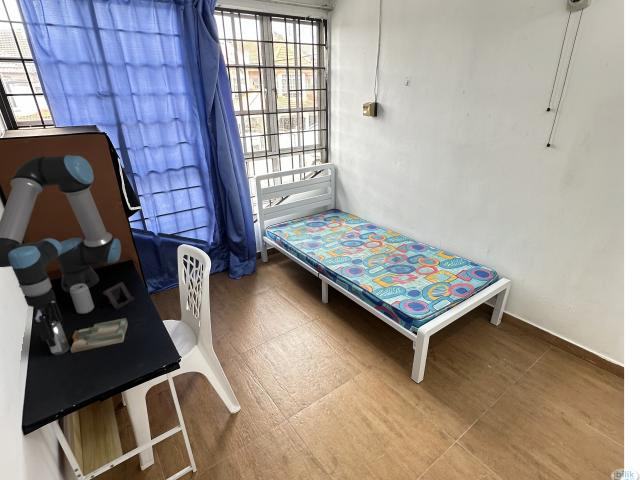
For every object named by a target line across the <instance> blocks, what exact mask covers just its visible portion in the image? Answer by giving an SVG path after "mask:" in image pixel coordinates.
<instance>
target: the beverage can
mask: <svg viewBox="0 0 640 480" xmlns="http://www.w3.org/2000/svg"><path fill="white" fill-rule="evenodd" d="M69 293H70V296H71V299H72V302H73V305H74V309H75V311H76V312H77V314H80V315H81V314H83V315H84V314H88V313H90V312H92V311H93V309H95V304H94V302H93V298H92V295H91V292H90V288H88V286H86V284H84V283H81V284H76V285H74V286H72V287H71V288H70V292H69Z"/></svg>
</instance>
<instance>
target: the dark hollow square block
mask: <svg viewBox="0 0 640 480" xmlns="http://www.w3.org/2000/svg"><path fill="white" fill-rule="evenodd" d="M121 290H122V292H123V294H124V296H125V297H126V299H127V300H126V301H125V300H124V302H123V301H122V302H121V303H118V300H120V294H121ZM102 294H103V295H104V296H107V297H108V299H109V305H111V304H112V306H113V308H114V309H115V310H117V311H118V310H119V309H121V308H122V307H124V306H126V305H128V304H129V303H130V302H133V301H134V300H135V295H131V293H130V292H129V290H128V288H127V287H126V285H125V283H124V282H123V281H120V282H117V284H114V285H113V286H111V287H108V288H107V289H105V290H103V291H102Z"/></svg>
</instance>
